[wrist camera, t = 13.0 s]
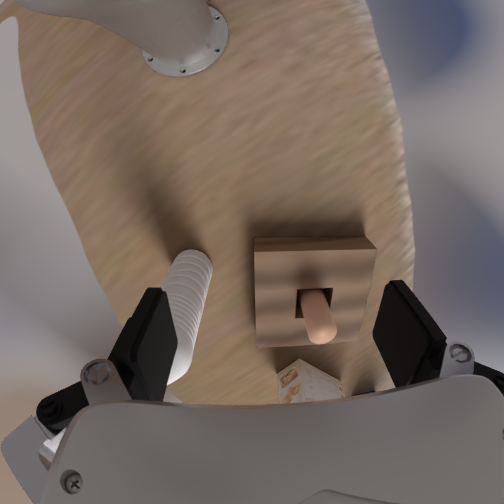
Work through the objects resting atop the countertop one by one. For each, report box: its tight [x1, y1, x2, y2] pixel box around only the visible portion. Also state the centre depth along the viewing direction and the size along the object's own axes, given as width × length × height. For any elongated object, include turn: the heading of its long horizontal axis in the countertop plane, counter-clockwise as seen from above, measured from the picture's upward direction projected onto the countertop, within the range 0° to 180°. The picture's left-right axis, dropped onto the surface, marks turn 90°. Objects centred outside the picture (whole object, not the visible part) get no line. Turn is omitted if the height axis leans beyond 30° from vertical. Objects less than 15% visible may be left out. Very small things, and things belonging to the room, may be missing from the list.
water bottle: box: [160, 249, 213, 385], centre depth 33 cm, size 9×6×25 cm
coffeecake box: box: [277, 358, 345, 404], centre depth 48 cm, size 15×7×20 cm, turn 50°
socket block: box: [254, 236, 377, 348], centre depth 44 cm, size 18×18×5 cm
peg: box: [297, 288, 337, 344], centre depth 41 cm, size 4×4×12 cm
